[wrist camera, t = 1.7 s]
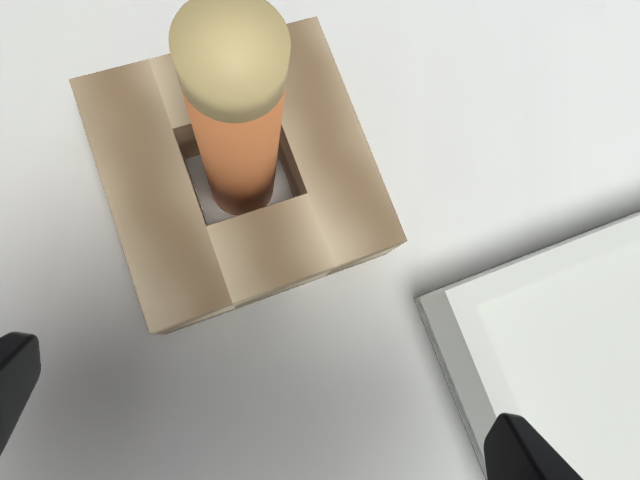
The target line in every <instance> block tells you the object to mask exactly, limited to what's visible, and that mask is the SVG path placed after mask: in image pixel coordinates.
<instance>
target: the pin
mask: <svg viewBox="0 0 640 480" xmlns="http://www.w3.org/2000/svg"><path fill="white" fill-rule="evenodd" d="M169 49H170V53H171V56H172V60H173V63H174V67H175V70H176V73H177V77H178V80H179V84H180V87H181V90H182V94H183V97H184V100H185V104H186V107H187V111H188V114H189V117H190V121H191V124H192V128H193V131H194V134H195V138H196V141H197V144H198V148H199V151H200V155H201V158H202V161H203V165H204V168H205V171H206V175H207V178H208V182H209V185H210V188H211V192H212V195H213V198H214V200H215V201H216V203H217V204H218V206H219V207H220V208H222V209H223V210H224V211H226V212H228V213H230V214H232V215H236V216H239V215H242V214H245V213H248V212H251V211H254V210H258V209H261V208H264V207H265V206H266V205H267V204H268V203H269V201H270V199H271V197H272V193H273V187H274V179H275V171H276V163H277V154H278V146H279V138H280V130H281V122H282V114H283V106H284V98H285V90H286V82H287V74H288V66H289V58H290V50H291V40H290V34H289V31H288V28H287V25H286V23H285V21H284V19H283V18H282V16H281V15H280V13H279V12H278V11H277V10H276V9H275V8H274V7H273V6H272V5H271V4H270V3H269V2H267V1H266V0H189V1H188V2H186V3H185V4H184V5H183V6H182V7H181V8H180V10H179V11H178V12H177V14H176V15H175V17H174V19H173V21H172V24H171V27H170V32H169Z"/></svg>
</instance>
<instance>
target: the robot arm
mask: <svg viewBox="0 0 640 480" xmlns="http://www.w3.org/2000/svg"><path fill="white" fill-rule="evenodd" d="M40 371H41V362H40V351H39V341H38V338H37V336H36V335H33V334H28V333H22V332H11V333H8V334H6V335H4V336H2V337H0V455H1V454H2V452H3V450H4V448H5V446H6V444H7V442H8V440H9V438H10V436H11V434H12V432H13V430H14V428H15V426H16V423H17V421H18V419H19V417H20V415H21V413H22V411H23V409H24V407H25V405H26V403H27V401H28V399H29V397H30V395H31V393H32V391H33V389H34V387H35V385H36V383H37V381H38V378H39V375H40ZM484 457H485V465H486V473H487V480H584V479H583V478H582V477H581V476H580V475H579V474H578V473H577V472H576V471H575V470H574V469H573V468H572V467H571V466H570V465H569V464H568V463H567V462H566V461H565V460H564V459H563V458H562V457H561V456H560V454H559V453H558V452H557V451H556V450H555V449H554V448H553V447H552V446H551V445H550V444H549V443H548V442H547V441H546V440H545V439H544V438H543V437H542V436H541V435H540V434H539V433H538V432H537V431H536V429H535V428H534V427H533V426H532V425H531V424H530V423H529V422H528V421H527V420H526V419H525V418H524V417H522V416H520V415H516V414H510V413H501V414H499V415H498V417H497V418H496V420H495V422H494V424H493V425H492V427H491V429H490V430H489V432H488V434H487V436H486V438H485V441H484Z"/></svg>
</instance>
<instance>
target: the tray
mask: <svg viewBox="0 0 640 480" xmlns="http://www.w3.org/2000/svg"><path fill="white" fill-rule="evenodd" d="M414 300H415V303H416V305H417V308H418V310H419V313H420V315H421V318H422V320H423V323H424V325H425V328H426V330H427V333H428V335H429V338H430V340H431V343H432V345H433V348H434V350H435V353H436V355H437V358H438V360H439V363H440V365H441V368H442V370H443V373H444V375H445V378H446V380H447V383H448V385H449V388H450V390H451V393H452V395H453V398H454V400H455V403H456V405H457V408H458V410H459V413H460V415H461V418H462V420H463V423H464V425H465V428H466V430H467V433H468V435H469V438H470V440H471V443H472V445H473V448H474V450H475V453H476V455H477V458H478V460H479V463H480V465H481V468H482V470H483V473H484V475H485V478H486V480H487V473H486V465H485V457H484V441H485V438H486V436H487V434H488V432H489V430H490V429H491V427H492V425H493V424H494V422H495V420H496V418H497V417H498V415H499V414H501V413H510V414H516V415H520V416H522V417H524V418H525V419H526V420H527V421H528V422H529V423H530V424H531V425H532V426H533V427H534V428H535V429H536V431H537V432H538V433H539V434H540V435H541V436H542V437H543V438H544V439H545V440H546V441H547V442H548V443H549V444H550V445H551V446H552V447H553V448H554V449H555V450H556V451H557V452H558V453H559V454H560V456H561V457H562V458H563V459H564V460H565V461H566V462H567V463H568V464H569V465H570V466H571V467H572V468H573V469H574V470H575V471H576V472H577V473H578V474H579V475H580V476H581V477H582V478H583V479H584V480H640V211H639V212H636V213H633V214H631V215H628V216H626V217H623V218H620V219H618V220H615V221H613V222H610V223H608V224H605V225H602V226H600V227H597V228H595V229H592V230H589V231H587V232H584V233H582V234H579V235H577V236H574V237H571V238H569V239H566V240H564V241H561V242H558V243H556V244H553V245H551V246H548V247H546V248H543V249H540V250H538V251H535V252H533V253H530V254H527V255H525V256H522V257H520V258H517V259H515V260H512V261H509V262H507V263H504V264H502V265H499V266H496V267H494V268H491V269H489V270H486V271H484V272H481V273H478V274H476V275H473V276H471V277H468V278H465V279H463V280H460V281H458V282H455V283H453V284H450V285H447V286H445V287H442V288H440V289H437V290H434V291H432V292H429V293H427V294H424V295H422V296H419V297H416V298H414Z"/></svg>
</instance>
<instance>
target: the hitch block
mask: <svg viewBox="0 0 640 480" xmlns="http://www.w3.org/2000/svg"><path fill="white" fill-rule="evenodd" d="M286 25H287V28H288V31H289V34H290V40H291V50H290V58H289V66H288V74H287V82H286V90H285V98H284V106H283V114H282V122H281V130H280V138H279V146H278V156H279V158H280V161H281V164H282V166H283V169H284V172H285V174H286V177H287V180H288V182H289V185H290V188H291V190H292V193H293V196H294V198H291V199H288V200H285V201H282V202H279V203H276V204H273V205H270V206H267V207H264V208H261V209H258V210H254V211H251V212H248V213H245V214H242V215H239V216H236V217H233V218H230V219H227V220H224V221H221V222H218V223H215V224H212V225H209V226H207V223H206V220H205V218H204V215H203V212H202V209H201V206H200V203H199V200H198V197H197V194H196V191H195V189H194V186H193V183H192V180H191V177H190V174H189V171H188V168H187V165H186V162H185V160H184V158H188V157H191V156H195V155H198V154H200V151H199V148H198V144H197V141H196V138H195V134H194V131H193V128H192V124H191V121H190V117H189V114H188V111H187V107H186V104H185V100H184V97H183V94H182V90H181V87H180V84H179V80H178V77H177V73H176V70H175V67H174V63H173V60H172V56H171V54H167V55H163V56H159V57H155V58H151V59H147V60H143V61H139V62H135V63H132V64H128V65H124V66H120V67H116V68H112V69H108V70H104V71H100V72H96V73H92V74H88V75H84V76H80V77H76V78H73V79H69V81H70V84H71V88H72V91H73V94H74V97H75V100H76V103H77V107H78V110H79V113H80V116H81V119H82V122H83V125H84V129H85V132H86V135H87V138H88V141H89V144H90V148H91V151H92V154H93V157H94V160H95V163H96V166H97V170H98V173H99V176H100V179H101V182H102V185H103V189H104V192H105V195H106V198H107V201H108V204H109V207H110V211H111V214H112V217H113V220H114V223H115V226H116V230H117V233H118V236H119V239H120V242H121V245H122V248H123V252H124V255H125V258H126V261H127V264H128V267H129V271H130V274H131V277H132V280H133V283H134V286H135V289H136V293H137V296H138V299H139V302H140V305H141V308H142V312H143V315H144V318H145V321H146V324H147V327H148V331H149V334H167V333H170V332H173V331H176V330H178V329H181V328H184V327H187V326H189V325H192V324H195V323H198V322H201V321H203V320H206V319H209V318H212V317H214V316H217V315H220V314H223V313H225V312H228V311H231V310H234V309H236V308H239V307H242V306H245V305H247V304H250V303H253V302H256V301H258V300H261V299H264V298H267V297H269V296H272V295H275V294H278V293H280V292H283V291H286V290H289V289H291V288H294V287H297V286H300V285H302V284H305V283H308V282H311V281H313V280H316V279H319V278H322V277H324V276H327V275H330V274H333V273H335V272H338V271H341V270H344V269H346V268H349V267H352V266H355V265H357V264H360V263H363V262H366V261H368V260H371V259H374V258H377V257H379V256H382V255H385V254H387V253H388V252H390V251H392V250H393V249H395V248H396V247H398V246H399V245H401V244H403V243H404V242H406V241H407V239H406V236H405V234H404V231H403V229H402V226H401V224H400V221H399V219H398V216H397V214H396V211H395V209H394V206H393V204H392V202H391V199H390V197H389V194H388V192H387V189H386V187H385V184H384V182H383V179H382V177H381V174H380V172H379V169H378V167H377V164H376V162H375V159H374V157H373V154H372V152H371V150H370V147H369V145H368V142H367V140H366V137H365V135H364V132H363V130H362V127H361V125H360V122H359V120H358V117H357V115H356V112H355V110H354V107H353V105H352V103H351V100H350V98H349V95H348V93H347V90H346V88H345V85H344V83H343V80H342V78H341V75H340V73H339V70H338V68H337V65H336V63H335V60H334V58H333V56H332V53H331V51H330V48H329V46H328V43H327V41H326V38H325V36H324V33H323V31H322V28H321V26H320V23H319V21H318V18H317V16H316V17H312V18H308V19H304V20H300V21H297V22H293V23H289V24H286Z"/></svg>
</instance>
